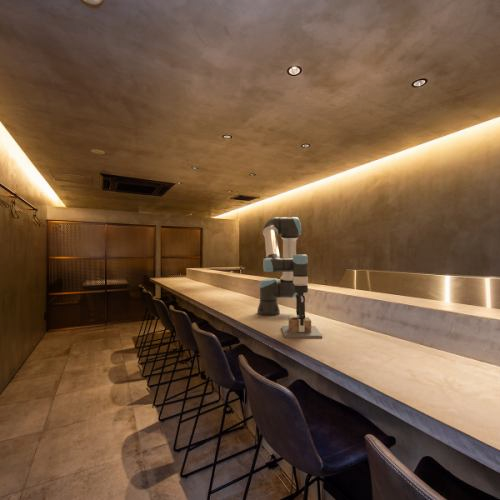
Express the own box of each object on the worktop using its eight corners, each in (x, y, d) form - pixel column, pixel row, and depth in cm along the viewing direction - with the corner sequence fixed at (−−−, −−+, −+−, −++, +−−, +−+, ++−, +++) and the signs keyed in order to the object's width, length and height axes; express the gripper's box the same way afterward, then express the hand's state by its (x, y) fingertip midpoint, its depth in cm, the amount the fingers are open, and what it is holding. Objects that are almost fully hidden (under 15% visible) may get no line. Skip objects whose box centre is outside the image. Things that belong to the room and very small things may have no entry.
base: (281, 328, 157) (281, 313, 157) (315, 328, 156) (314, 313, 157) (284, 337, 139) (284, 321, 139) (322, 338, 138) (322, 321, 139)
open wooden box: (308, 328, 151) (308, 317, 151) (311, 332, 144) (311, 320, 144) (288, 328, 151) (288, 317, 151) (290, 332, 144) (290, 320, 144)
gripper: (290, 282, 158) (291, 324, 158) (295, 286, 138) (295, 335, 138) (304, 282, 158) (304, 324, 157) (311, 286, 138) (311, 335, 137)
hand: (300, 329), depth 148 cm, fingers closed on open wooden box, 7 cm apart
